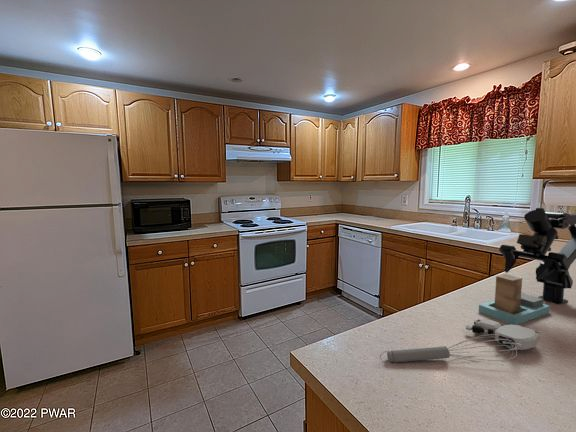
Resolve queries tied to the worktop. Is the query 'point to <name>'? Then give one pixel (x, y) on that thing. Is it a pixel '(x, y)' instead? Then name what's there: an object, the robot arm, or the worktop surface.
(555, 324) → the worktop surface
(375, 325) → the worktop surface
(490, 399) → the worktop surface
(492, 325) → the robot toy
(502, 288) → the upright wooden block
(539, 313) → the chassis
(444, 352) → the kitchen whisk
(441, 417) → the worktop surface
